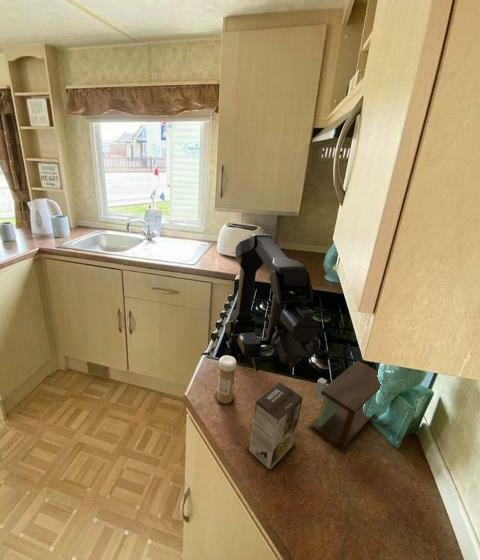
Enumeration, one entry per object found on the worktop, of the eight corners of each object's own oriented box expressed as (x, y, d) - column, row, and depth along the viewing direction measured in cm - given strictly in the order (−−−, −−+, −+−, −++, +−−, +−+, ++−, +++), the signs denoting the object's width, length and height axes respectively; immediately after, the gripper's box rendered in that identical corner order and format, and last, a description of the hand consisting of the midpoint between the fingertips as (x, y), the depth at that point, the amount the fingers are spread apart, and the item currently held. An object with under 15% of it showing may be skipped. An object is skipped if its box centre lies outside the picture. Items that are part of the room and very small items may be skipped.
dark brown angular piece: (311, 428, 80) (321, 390, 75) (346, 396, 90) (357, 360, 85) (341, 451, 75) (354, 411, 69) (374, 413, 85) (388, 376, 79)
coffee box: (270, 429, 80) (279, 380, 73) (292, 447, 75) (304, 396, 68) (247, 450, 74) (254, 399, 67) (269, 470, 70) (280, 418, 63)
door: (303, 414, 82) (310, 385, 78) (320, 400, 87) (327, 372, 82) (320, 427, 79) (328, 397, 75) (336, 411, 83) (345, 382, 79)
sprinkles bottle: (235, 398, 89) (240, 360, 83) (225, 406, 86) (229, 368, 80) (223, 389, 92) (227, 352, 86) (213, 397, 89) (215, 359, 83)
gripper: (255, 340, 63) (247, 397, 70) (340, 333, 66) (325, 389, 73) (239, 311, 73) (234, 364, 80) (313, 307, 76) (302, 358, 83)
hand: (273, 369), depth 79 cm, fingers open, 9 cm apart
